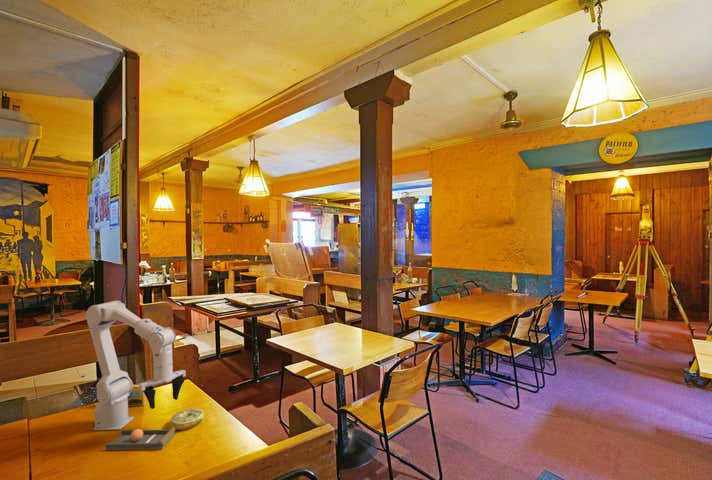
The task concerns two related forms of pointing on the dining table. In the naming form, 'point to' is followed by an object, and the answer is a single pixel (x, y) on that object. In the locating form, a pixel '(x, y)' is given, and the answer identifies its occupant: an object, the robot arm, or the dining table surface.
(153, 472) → the dining table surface
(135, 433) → the ball
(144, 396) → the candy box
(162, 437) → the lane
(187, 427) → the decorated donut
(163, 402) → the dining table surface
